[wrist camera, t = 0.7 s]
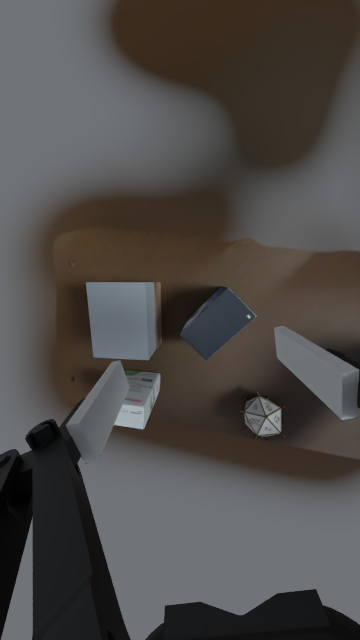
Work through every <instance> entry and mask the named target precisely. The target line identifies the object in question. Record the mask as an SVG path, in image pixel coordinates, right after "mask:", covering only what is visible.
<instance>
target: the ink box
mask: <svg viewBox="0 0 360 640" xmlns="http://www.w3.org/2000/svg"><path fill="white" fill-rule="evenodd" d="M124 372H125V375H126V378H127V381H128V383H129V386H130V388H129V390H128V393H127V395H126V397H125V400H124V402H123V404H122V407H121V409H120V411H119V414H118V416H117V418H116V421H115V423H114V425H118V426H125V427H131V428H138V429H144V428H145V425H146V423H147V421H148V418H149V416H150V413H151V411H152V408H153V406H154V403H155V401H156V398H157V396H158V393H159V391H160V374H159V373H152V372H143V371H134V370H125V371H124Z"/></svg>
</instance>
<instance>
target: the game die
mask: <svg viewBox="0 0 360 640" xmlns="http://www.w3.org/2000/svg"><path fill="white" fill-rule="evenodd" d="M256 394H257V397H255V398H252V399H250V400H248V401H247V400H246V399H244V401H245V402H246V405H245V408H244V411H243V410H240V412H241V413H244V420H245V423H242V425H243V426H245V425H247V426H248V427H249V428H250V429H251V431H252V432H253V433H254V434H255V435H256V436H255V437H254V438H255V440H257V438H258V437H257V436H263V437H265V438H266V440H267V441H268V436H273V435H279V434H281V435H282V436H283V437H285V435H284V434H283V433H282V422H284V420H283V419H282V409H283V408H285V406H283V405H282V406H281V407H280V406H278V405H276V404H275V403H273V402H272V401H270V400H269V396H267V397H266V398H267V399H266V398H264V397H261V396H259V393H258V392H257V393H256ZM285 438H286V437H285Z"/></svg>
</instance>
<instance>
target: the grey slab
mask: <svg viewBox="0 0 360 640" xmlns="http://www.w3.org/2000/svg"><path fill="white" fill-rule="evenodd" d="M86 288H87V298H88V308H89V318H90V328H91V337H92V347H93V357H97V358H115V359H133V360H149V359H150V357H151V356H152V355H153V353H154V352H155V350H156V338H155V301H154V282H86Z"/></svg>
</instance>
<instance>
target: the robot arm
mask: <svg viewBox="0 0 360 640" xmlns="http://www.w3.org/2000/svg"><path fill="white" fill-rule="evenodd" d="M274 332H275V342H276V352H277V358H278V359H279V360H280V361H281V362H282V363H283V364H284V365H285V366H286V367H287V368H288V369H289V370H290V371H291V372H292V373H293V374H294V375H296V376H297V377H298V378H299V379H300V380H301V381H302V382H303V383H304V384H305V385H306V386H307V387H308V388H309V389H310V390H311V391H312V392H313V393H314V394H315V395H316V396H317V397H318V398H319V399H321V400H322V401H323V402H324V403H325V404H326V405H327V406H328V407H329V408H330V409H331V410H332V411H333V412H334V413H335V414H336V415H337V416H338V417H339V418H340V419H341V420H345V419H350V418H356V417H358V408H360V363H359V362H357V361H355V360H353V359H351V358H350V357H347V356H346V355H344V354H342V353H340V352H338V351H335V350H332V349H325V350H324V349H323V348H321V347H319V346H317V345H316V344H314V343H312V342H311V341H309V340H307V339H305V338H304V337H302V336H300V335H299V334H297V333H295V332H293V331H292V330H290V329H288V328H287V327H285V326H280V327H276V328H274ZM129 388H130V386H129V383H128V381H127V378H126V375H125V372H124V369H123V367H122V364H121V361H115V362H112V363H111V364H110V365H109V367H108V368H107V369H106V371H105V372H104V374H103V375H102V376H101V378H100V379H99V380H98V382H97V383H96V385H95V386H94V387H93V389H92V390H91V391H90V393H89V394H88V395H87V397H86V398H83V399H82V400H81V401H80V402H79V403H77V405H76V406H75V407H74V409H73V411H71V413H70V414H69V416H68V417H67V418H66V419H65V421H64V422H63V423H62V424H61V426H60V427H58V426H57V424H56V422H55V420H54V419H50V420H46V421H44V422H42V423H40V424H38V425H37V426H35V427H34V428H33V429H32V430H31V431H29V433H28V434H27V435H26V438H25V439H26V441H27V443H28V444H29V446H30V448H31V449H32V450H31V451H29V452H27V453H24V454H22V455H20V454H19V452H18V451H17V450H16V449H13V450H9V451H6V452H5V453H3V454H1V455H0V640H1V636H2V632H3V628H4V624H5V621H6V617H7V613H8V609H9V605H10V601H11V598H12V593H13V590H14V586H15V582H16V578H17V574H18V570H19V567H20V563H21V558H22V555H23V551H24V547H25V543H26V540H27V535H28V532H29V528H30V524H31V520H32V516H33V637H32V640H131V639H130V637H129V635H128V632H127V629H126V627H125V624H124V621H123V618H122V614H121V611H120V607H119V604H118V600H117V597H116V593H115V590H114V587H113V583H112V579H111V576H110V572H109V569H108V566H107V562H106V559H105V555H104V552H103V548H102V545H101V541H100V538H99V534H98V531H97V527H96V524H95V520H94V517H93V513H92V510H91V506H90V503H89V499H88V496H87V493H86V489H85V486H84V482H83V478H82V475H81V472H80V468H79V466H78V464H77V463H78V461H79V459H80V457H82V459H83V461H84V463H85V464H88V463H94V462H98V460H99V458H100V456H101V453H102V451H103V449H104V446H105V444H106V442H107V439H108V437H109V435H110V432H111V430H112V428H113V425H114V423H115V421H116V418H117V416H118V414H119V411H120V409H121V407H122V404H123V402H124V400H125V397H126V395H127V393H128V390H129ZM145 640H360V625H359V624H358V623H357V622H355V621H353V620H352V619H350V618H349V617H347V616H346V615H344V614H342V613H340V612H338V611H336V610H334V609H332V608H330V607H326V606H324V605H322V603H321V600H320V598H319V595H318V593H317V591H316V589H313V590H304V591H295V592H286V593H278V594H276V595H274V596H273V597H271V598H270V599H268V600H266V601H265V602H263V603H262V604H260V605H259V606H257V607H256V608H254V609H252V610H251V611H249V612H248V613H246V614H245V615H236V614H233V613H230V612H227V611H224V610H222V609H219V608H216V607H213V606H210V605H207V604H204V603H202V602H195V603H186V604H176V605H167V606H165V616H164V623H162V624H161V625H160V626H158V627H157V628H156V629H155V630H154V631H153V632H152V633H151V634H150V635H149V636H148V637H147V638H146V639H145Z"/></svg>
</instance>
